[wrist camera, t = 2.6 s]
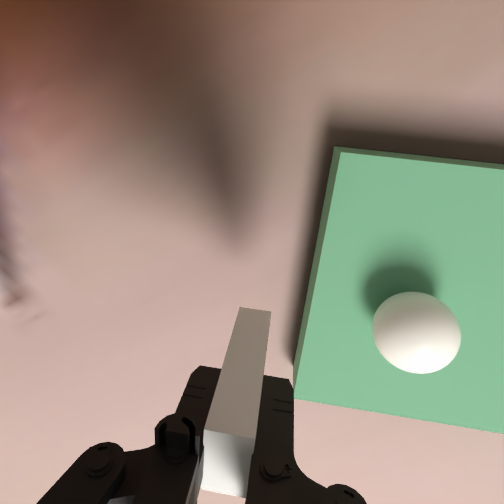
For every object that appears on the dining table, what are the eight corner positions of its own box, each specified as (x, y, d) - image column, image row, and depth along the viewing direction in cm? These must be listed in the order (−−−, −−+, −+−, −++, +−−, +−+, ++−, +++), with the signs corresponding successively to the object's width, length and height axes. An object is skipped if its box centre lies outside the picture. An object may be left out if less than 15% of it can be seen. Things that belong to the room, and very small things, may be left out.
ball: (374, 273, 18) (395, 315, 14) (451, 283, 17) (492, 329, 14) (358, 332, 19) (372, 384, 16) (427, 343, 19) (459, 398, 15)
